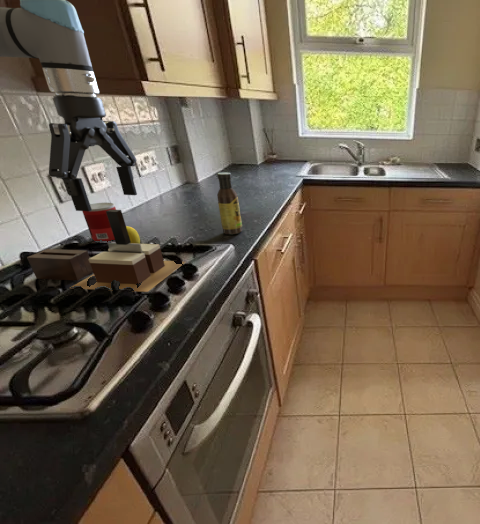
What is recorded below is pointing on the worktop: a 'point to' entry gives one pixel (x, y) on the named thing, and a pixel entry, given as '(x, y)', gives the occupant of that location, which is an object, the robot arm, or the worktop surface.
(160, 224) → the worktop surface
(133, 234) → the lemon
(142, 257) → the cake
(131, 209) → the worktop surface
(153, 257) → the cake
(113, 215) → the scraper
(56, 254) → the knife block
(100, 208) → the canned food
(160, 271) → the cutting board
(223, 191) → the sauce bottle
